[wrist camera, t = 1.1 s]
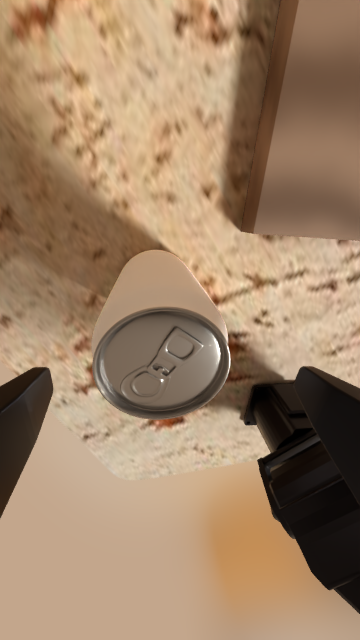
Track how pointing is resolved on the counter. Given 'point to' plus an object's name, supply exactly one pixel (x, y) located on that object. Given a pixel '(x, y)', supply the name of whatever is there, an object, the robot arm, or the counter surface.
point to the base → (309, 126)
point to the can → (159, 340)
